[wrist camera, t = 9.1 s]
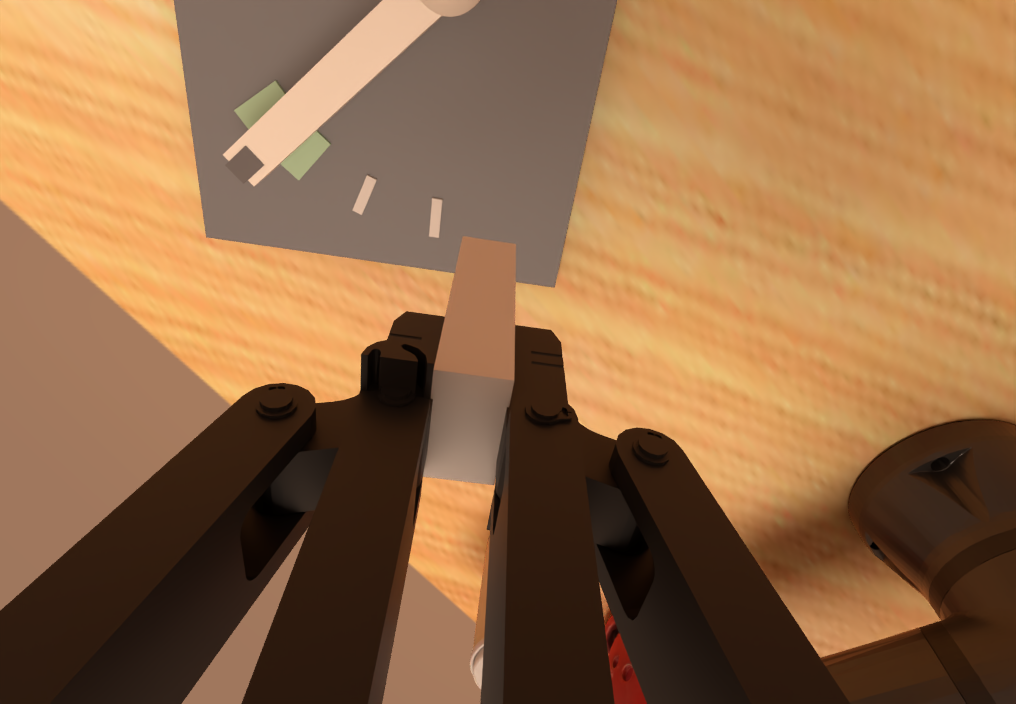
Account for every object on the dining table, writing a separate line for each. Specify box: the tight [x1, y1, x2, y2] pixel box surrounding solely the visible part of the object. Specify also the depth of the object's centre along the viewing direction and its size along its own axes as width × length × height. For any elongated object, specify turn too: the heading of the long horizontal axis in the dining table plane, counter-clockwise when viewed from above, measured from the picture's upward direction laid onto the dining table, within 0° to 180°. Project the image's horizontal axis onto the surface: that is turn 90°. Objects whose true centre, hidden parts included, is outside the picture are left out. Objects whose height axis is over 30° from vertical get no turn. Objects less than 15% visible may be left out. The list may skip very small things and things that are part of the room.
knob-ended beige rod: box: [223, 0, 480, 186], centre depth 28 cm, size 16×3×2 cm, turn 127°
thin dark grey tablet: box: [174, 0, 617, 288], centre depth 32 cm, size 22×18×4 cm
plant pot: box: [605, 616, 647, 704], centre depth 55 cm, size 13×13×12 cm
